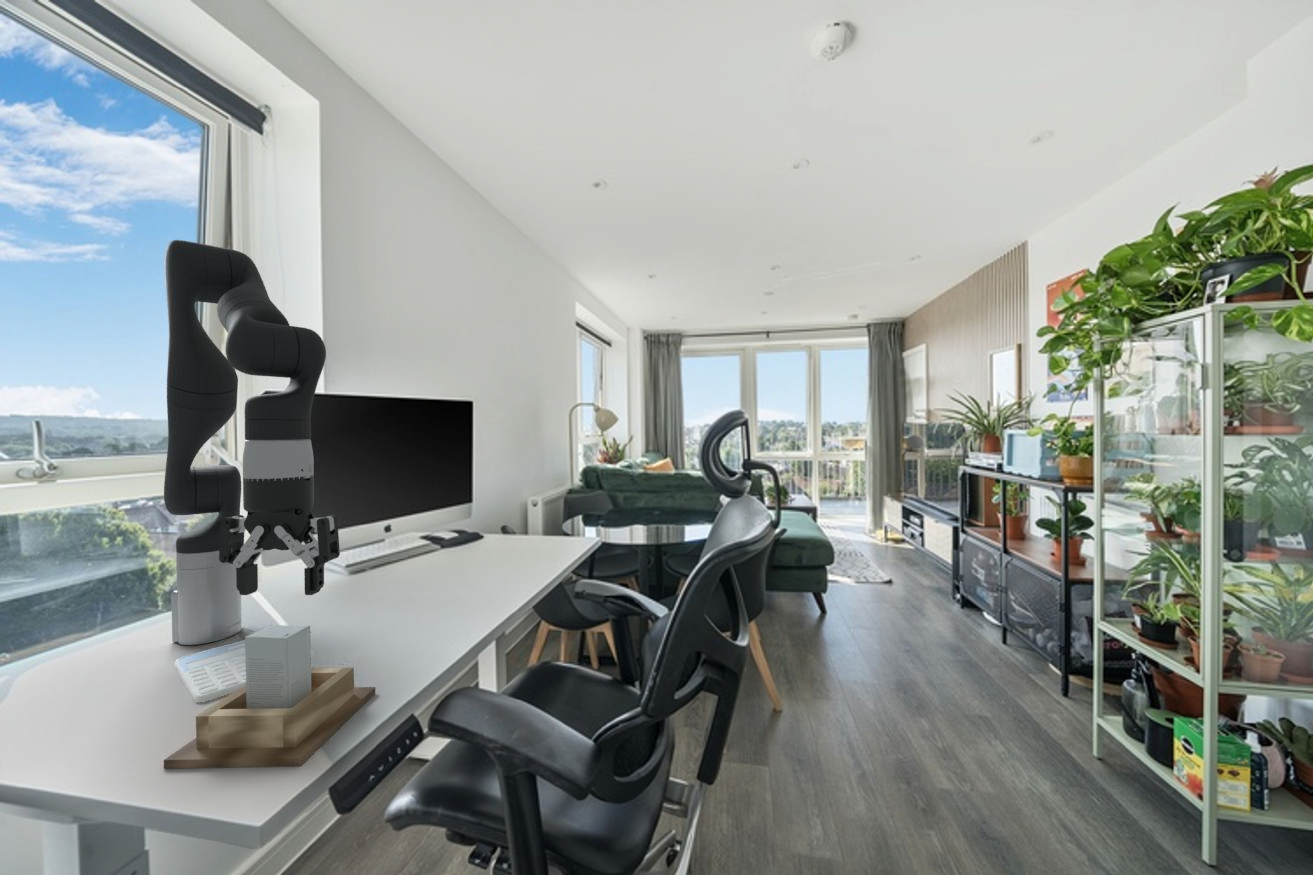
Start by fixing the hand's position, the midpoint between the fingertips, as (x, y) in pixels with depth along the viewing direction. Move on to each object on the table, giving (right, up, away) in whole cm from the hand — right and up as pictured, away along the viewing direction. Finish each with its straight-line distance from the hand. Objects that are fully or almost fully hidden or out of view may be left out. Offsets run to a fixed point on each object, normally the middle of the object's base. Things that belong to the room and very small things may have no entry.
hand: (281, 593), depth 66 cm
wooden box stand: (0, -18, 0) cm, 18 cm away
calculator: (-20, -19, +17) cm, 32 cm away
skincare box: (0, -17, 0) cm, 17 cm away
